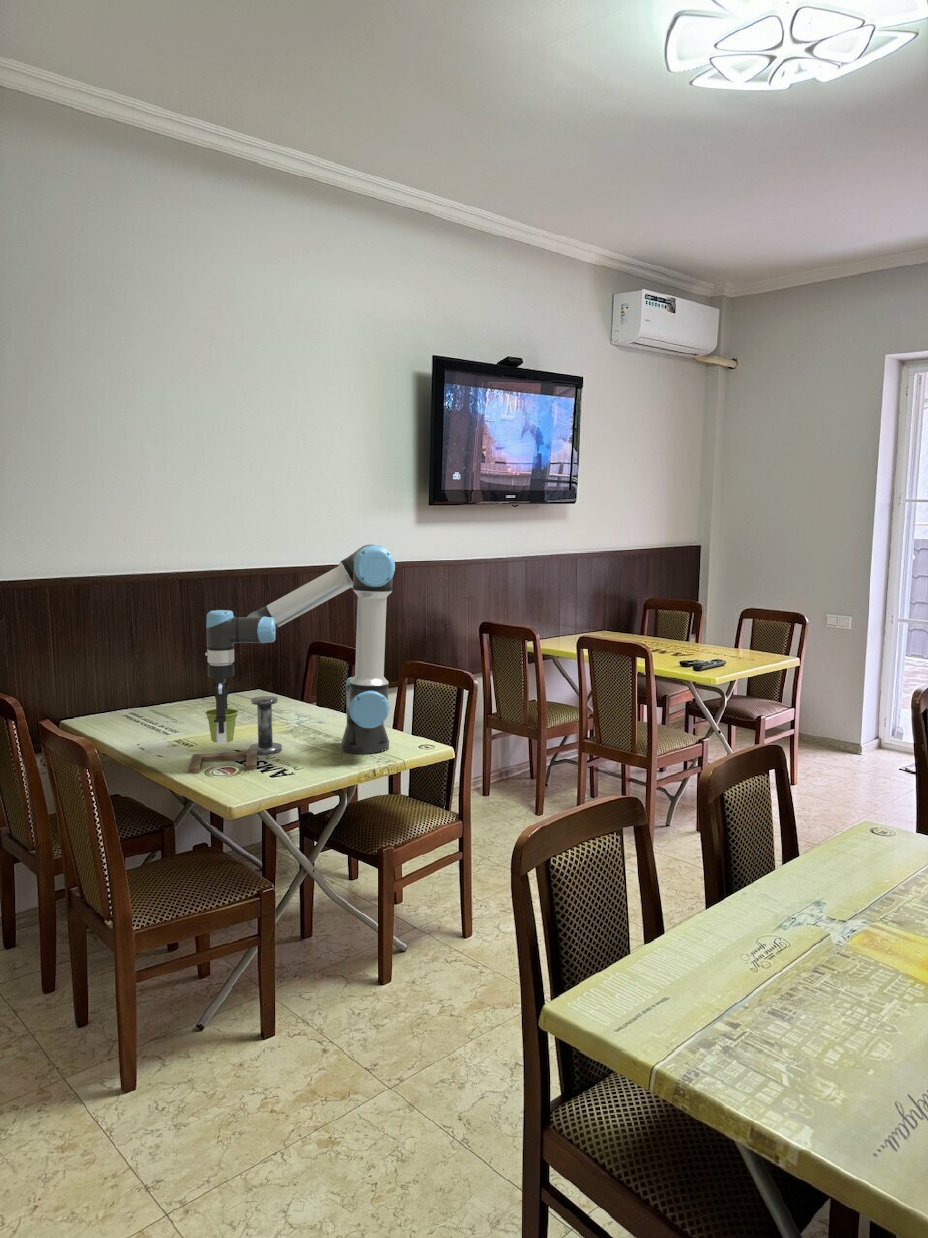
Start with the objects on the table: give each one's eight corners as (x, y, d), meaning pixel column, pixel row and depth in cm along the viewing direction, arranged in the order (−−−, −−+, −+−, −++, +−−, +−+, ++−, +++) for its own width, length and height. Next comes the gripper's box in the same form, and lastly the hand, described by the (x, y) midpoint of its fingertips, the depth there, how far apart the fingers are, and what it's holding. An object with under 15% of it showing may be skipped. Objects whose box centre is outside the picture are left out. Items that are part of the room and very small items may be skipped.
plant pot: (243, 737, 265) (243, 708, 264) (232, 745, 256) (231, 715, 255) (213, 736, 266) (212, 708, 265) (200, 744, 256) (200, 714, 256)
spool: (281, 746, 285) (280, 694, 283) (282, 754, 275) (280, 701, 273) (249, 747, 282) (248, 696, 281) (248, 756, 273) (247, 702, 271)
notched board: (257, 755, 273) (257, 750, 273) (256, 769, 258) (256, 764, 258) (192, 759, 269) (192, 754, 269) (188, 773, 254) (188, 768, 254)
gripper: (209, 658, 268) (211, 732, 270) (204, 670, 247) (206, 749, 250) (235, 657, 269) (236, 731, 272) (232, 669, 249) (234, 748, 251)
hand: (222, 739), depth 261 cm, fingers closed on plant pot, 8 cm apart
